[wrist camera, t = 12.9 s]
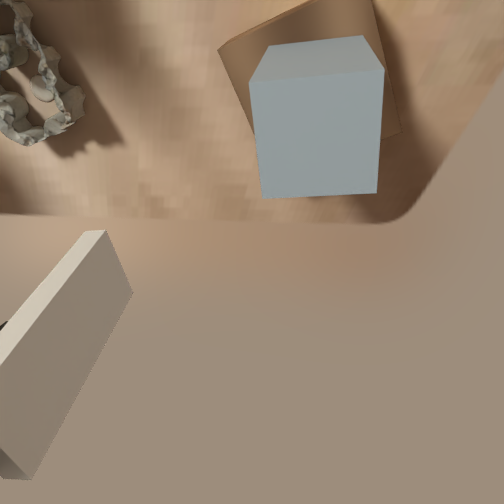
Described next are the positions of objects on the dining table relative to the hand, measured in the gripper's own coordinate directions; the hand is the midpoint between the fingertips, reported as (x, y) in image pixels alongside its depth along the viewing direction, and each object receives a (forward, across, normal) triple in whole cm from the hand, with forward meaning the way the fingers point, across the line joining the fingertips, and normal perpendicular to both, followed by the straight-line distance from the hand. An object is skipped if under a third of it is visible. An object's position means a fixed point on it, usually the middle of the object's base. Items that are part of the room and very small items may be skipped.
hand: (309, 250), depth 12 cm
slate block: (+19, 0, 0) cm, 19 cm away
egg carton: (+24, -24, +4) cm, 34 cm away
